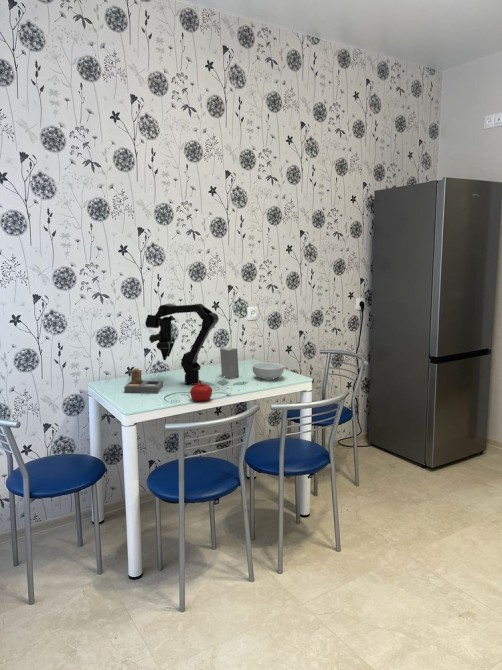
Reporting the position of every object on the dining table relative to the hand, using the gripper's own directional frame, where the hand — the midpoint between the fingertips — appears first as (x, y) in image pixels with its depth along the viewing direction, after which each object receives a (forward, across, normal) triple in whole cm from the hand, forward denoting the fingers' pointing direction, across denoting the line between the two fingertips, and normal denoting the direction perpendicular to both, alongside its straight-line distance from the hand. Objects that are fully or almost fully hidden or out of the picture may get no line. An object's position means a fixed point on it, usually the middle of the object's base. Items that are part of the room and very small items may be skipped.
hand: (166, 358), depth 262 cm
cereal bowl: (+12, -9, +53) cm, 55 cm away
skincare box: (+12, -11, +32) cm, 36 cm away
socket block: (+12, +17, -8) cm, 22 cm away
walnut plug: (+11, +16, -12) cm, 22 cm away
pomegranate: (+12, +32, +22) cm, 41 cm away
